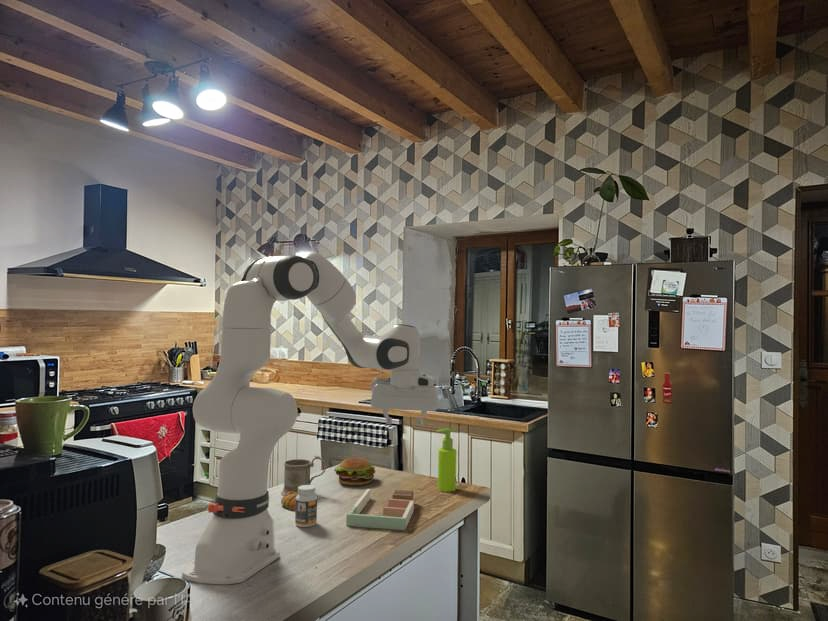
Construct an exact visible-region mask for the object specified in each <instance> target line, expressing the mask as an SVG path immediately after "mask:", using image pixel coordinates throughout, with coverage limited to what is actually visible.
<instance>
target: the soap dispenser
mask: <svg viewBox="0 0 828 621" xmlns="http://www.w3.org/2000/svg"><path fill="white" fill-rule="evenodd" d="M453 431H454V430H453V429H452V428H439V429H437V430H436V432H437V433H439V434H440V433H443V432H444V434H445V436H444V438H442V445H441V446H442V447H441V448H438V456H437V458H438V462H437V463H438V465H437V490H438V491H439V492H442V491H444V493H452V492H451V491H453V492H455V491H456V490H457V489H456V488H457V485H456V484H457V482H456V481H457V479H456V477H457V476H456V475H457V449H456V448H453V445H454V442H453V441H454V440H453V438H451V433H452V432H453Z"/></svg>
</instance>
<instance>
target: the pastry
mask: <svg viewBox="0 0 828 621" xmlns="http://www.w3.org/2000/svg"><path fill="white" fill-rule="evenodd" d="M297 495H299V493H296V492H288V493H287V494H285V495H284V496H283V495H282V498H281V499H280V500H281V501H280V503H281V506H283V507H284V508H285V509H287V510H291V511H295V509H296V497H297Z"/></svg>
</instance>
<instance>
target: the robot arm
mask: <svg viewBox="0 0 828 621" xmlns="http://www.w3.org/2000/svg"><path fill="white" fill-rule="evenodd" d="M304 297H306V298H307V299H308V300H309V302H311V304H312V305H313V306H314V307H315V308H316V310H318V312H319V313H320V314H321V317H322V319H323V321H324V322H325V323H326V325H327V327H328V328H329V329H330V330H331V332H332V333H333V334H334V336H335V337H336V338H337V339H338V341H339V342H340V344H341V345H342V346H343V349H344V351H345V353H346V356H347V359H348V361H349V362H350V364H351V365H352V366H354V367H355V368H358V369H372V370H373V369H374V370H382V371H389V370H390V372H389V375H390V376H389V377H376V378H373V380H371V381H370V390H371V398H370V406H371V408H372V409H374V410H382V415H383V417H384V418H385V424H386V425H392V423H393V421H392V420H393V417H390V416H389V414H388V412H389V410H392V411H393V410H396V411H397V410H399V411H420V414H421V418H417V426H420V427H421V426H423V425H424V419H425V417H426V416H427V413H428V412H436V411H437V410H438V408H439V401H440V400H439V392H438V388H437V387H436V386H435V377H434V376H432V375H429V374H426V373H423V372H421V370H420V368H421V367H420V364H419V363H420V356H421V341H420V334H419V330H418V328H417V327H415V326H413V325H410V324H403V323H402V324H401V323H397V324H393V326H392V328H391V329H390V330H388V331H387V332H386V333H384V334H382V335H370V334H366V333H363V332H361V331H360V330H359V329H358V328H357V326H356V325H355V323H354V322H353V321H352V319H351V318H350V317H349V314H351V313H350V312H352V310H353V309H354V307H355V304H356V299H357V294H356V292H355V289H354V287H353V286H352V284H351V283H350V282H349V281H348V279H347V278H346V276H344V274H343V273H342V272H341V270H339V269H338V268H337V267H336V266H335V265H334V264H333V263H332V262H331V261H330V260H328V259H327V258H326V257H325V256H323V255H322V254H320V253H317V252H310V253H308V254H305V255H303V256H299V255H295V254H291V255H290V254H289V255H277V254H276V255H271V256H267V257H262V258H257V259H256V260H254V261H252V262H250V264H248V266H247V267H246V269H245V271H244V273H243V276H242V278H241V280H240V281H238V282H234V283H233V284H231V286H229V288H228V289H227V291H226V295H225V300H224V304H223V309H222V310H223V311H222V322H221V347H220V355H219V356H220V357H219V363H218V365H217V369H216V371H215V374H214V376H212V379H211V381H210V382H209V383H208V385H206V386H205V387H204V388H203V389H201V390H199V392H198V394H197V395H196V397H195V398H194V401H193V405H192V416H193V419H194V421H195V423H196V424H197V425H198V426H199V427H201V428H204V429H206V430H210V431H213V432H217V433H227V434H229V433H230V434H239V440H238V443H237V447H236V448H234V449H232V450H230V451H229V452H227V453H226V454H225V455H223V457H221V459H220V461H219V463H218V471H217V472H218V475H217V493H216V495H215V497H214V498H215V499H214V501H213V502H210V503H209V504H208V507H207V511H208V513H211V514H212V516H211V518H210V520H209V521H208V523H207V525H206V527H205V528H204V530H203V532H202V534H201V536H200V538H199V540H198V542H197V543H196V546H195V553H194V557H193V559H192V560H191V561H190V563H188V564H187V565H186V567H185V568H184V569H183V571H182V572H181V573H182V574H181V577H182V578H183V579H185V580H187V581H189V582H190V581H191V582H195V583H199V584H209V585H211V584H212V585H232V584H238V583H239V584H240V583H243V582H245V581H246V580H248V579H250V577H252V576H254V575H255V574H256V573H258V572H259V571H261V570H262V569H264V568H265V567H267V566H268V565H270V564H272V563H273V562H274V561H275V560H277V559H278V558H280V557H281V553H280V551H279V550H278V549H277V548H276V547H275V526H274V518H272V516H271V515H270V513H269V510H268V508H269V506H270V505H269V503H270V502H269V501H270V496H269V494H270V492H269V491H268V474H269V465H270V464H269V463H270V458H271V454H272V452H273V450H274V447H275V446H276V444H277V443H278V442H279V440H280V439H281V438H282V437H284V436H285V435H286V434H287V433H289V431H291V429H293V427H294V425H295V423H296V421H297V419H298V404H297V402H296V400H295V398H294V396H293V395H292V394H291V393H289V392H286V391H282V390H279V389H277V388H272V387H271V388H270V387H258V386H257V387H254V386H253V387H252V386H250V382H251V379H252V376H253V375H254V373H255V372H257V371H259V370H260V369H263V368H264V367H265V366H266V365H267V364H268V362H269V360H270V359H271V337H272V336H271V332H272V318H271V314H272V310H273V306H274V304H275V302H278V301H279V302H280V301H282V302H284V301H290V300H291V301H292V300H294V301H295V300H299V299H302V298H304Z"/></svg>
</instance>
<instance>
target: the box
mask: <svg viewBox="0 0 828 621" xmlns="http://www.w3.org/2000/svg"><path fill="white" fill-rule="evenodd" d="M370 500H371V489H370V488H366V490H365V491H364V492H363V494H362V495H361V496H360V497H359V499H358V500H357V501H356V502H355V503H354V505H352V508H350V509H349V511H348V512H347V514H346V518H345V519H346V522H345V523H346V526H347V527H359V528H369V529H370V528H371V529H372V528H373V529H383V530H396V531H405V530H406V528H407V527H408V524H409V523H410V520H411V519H412V515H413V514H414V511H415V499H413V500H402V499H393V498H388V505H387V506H384V507H383V508H382V515H374V514H362V513H361V512H362V510H363V509H364V508H365V507H366V505H367V504H368V503H369V501H370Z"/></svg>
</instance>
